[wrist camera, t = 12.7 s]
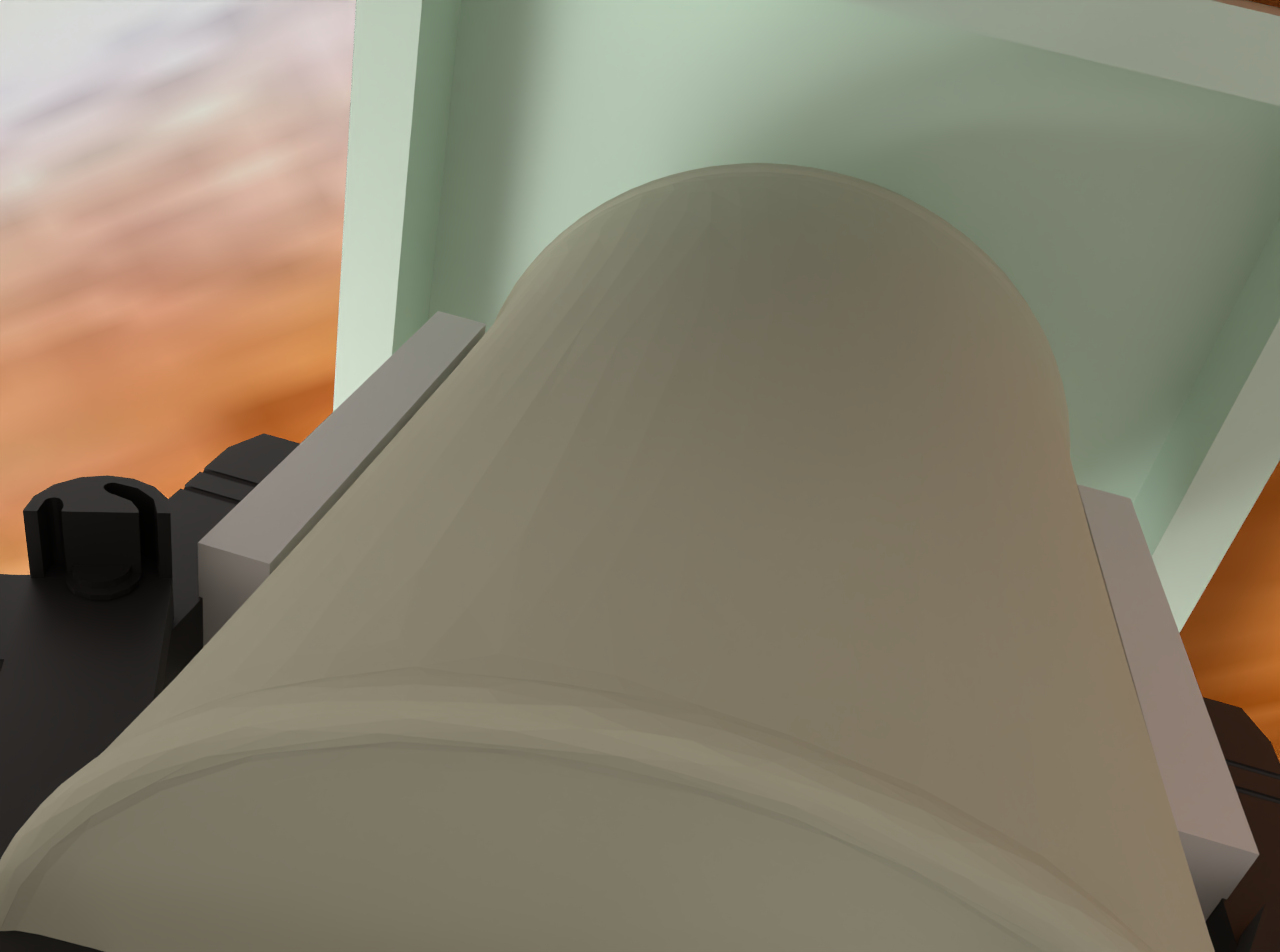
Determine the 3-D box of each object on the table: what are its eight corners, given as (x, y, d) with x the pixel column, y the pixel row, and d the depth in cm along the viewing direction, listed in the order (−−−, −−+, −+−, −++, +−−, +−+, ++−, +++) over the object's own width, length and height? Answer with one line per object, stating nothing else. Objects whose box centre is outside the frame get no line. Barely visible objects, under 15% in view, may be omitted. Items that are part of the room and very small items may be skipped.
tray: (370, 579, 25) (319, 647, 22) (434, -190, 17) (367, -198, 15) (1032, 773, 23) (1045, 864, 21) (1423, 41, 16) (1506, 69, 14)
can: (1065, 686, 18) (1276, 1739, 8) (542, 686, 21) (187, 1499, 10) (1072, 118, 14) (1528, 791, 4) (417, 200, 16) (-380, 751, 6)
